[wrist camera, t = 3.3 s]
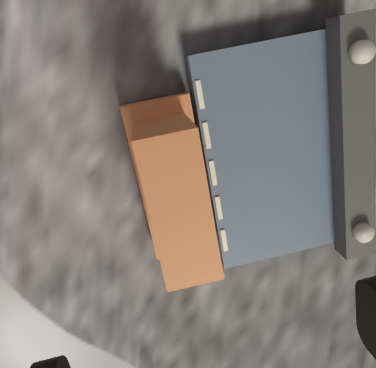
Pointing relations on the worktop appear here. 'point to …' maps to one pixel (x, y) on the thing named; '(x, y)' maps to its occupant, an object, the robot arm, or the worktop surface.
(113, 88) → the worktop surface
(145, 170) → the stub
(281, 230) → the panel with knobs
